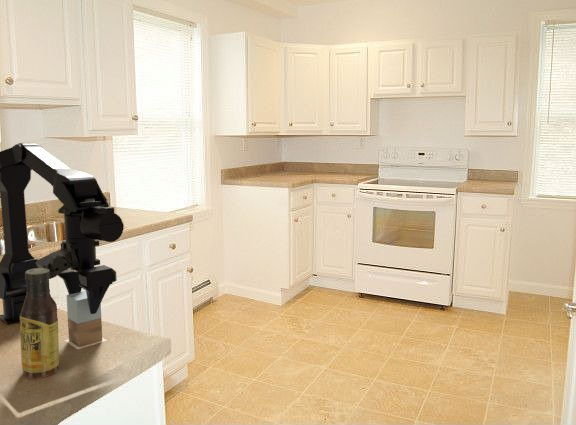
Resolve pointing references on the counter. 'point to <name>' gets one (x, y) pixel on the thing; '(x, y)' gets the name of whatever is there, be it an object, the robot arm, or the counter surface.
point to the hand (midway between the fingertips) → (84, 308)
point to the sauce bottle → (39, 327)
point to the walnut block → (85, 332)
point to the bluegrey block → (80, 308)
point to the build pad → (83, 346)
